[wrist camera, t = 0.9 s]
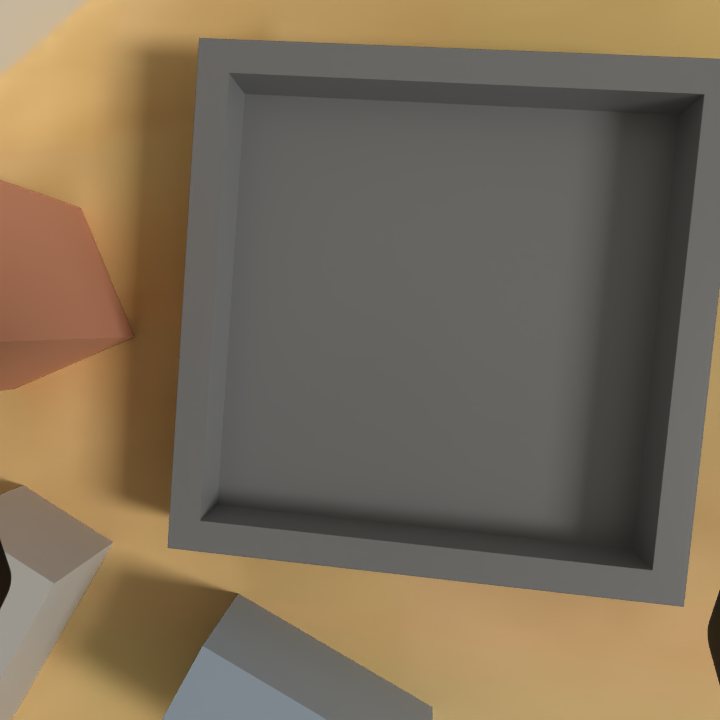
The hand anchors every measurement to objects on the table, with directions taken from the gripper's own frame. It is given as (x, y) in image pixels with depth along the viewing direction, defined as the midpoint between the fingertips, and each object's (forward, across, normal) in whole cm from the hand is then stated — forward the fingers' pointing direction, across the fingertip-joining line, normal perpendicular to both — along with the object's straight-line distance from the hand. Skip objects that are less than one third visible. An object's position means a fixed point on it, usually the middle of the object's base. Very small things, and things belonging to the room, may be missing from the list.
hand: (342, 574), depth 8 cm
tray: (+15, -1, +3) cm, 15 cm away
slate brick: (+9, +3, +15) cm, 18 cm away
